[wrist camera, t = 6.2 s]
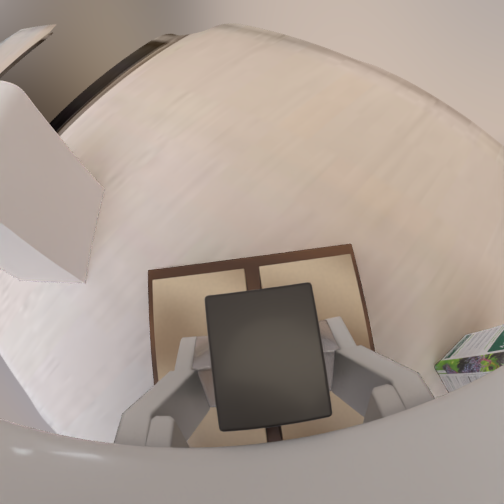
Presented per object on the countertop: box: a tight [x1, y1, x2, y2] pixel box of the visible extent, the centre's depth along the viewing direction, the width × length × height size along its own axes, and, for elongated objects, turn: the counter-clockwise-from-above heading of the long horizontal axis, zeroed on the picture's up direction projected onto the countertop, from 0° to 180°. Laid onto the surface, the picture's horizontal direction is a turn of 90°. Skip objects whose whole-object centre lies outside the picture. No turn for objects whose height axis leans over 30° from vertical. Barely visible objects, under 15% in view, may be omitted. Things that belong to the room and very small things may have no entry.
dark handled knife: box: [204, 282, 332, 432], centre depth 12 cm, size 4×2×15 cm, turn 7°
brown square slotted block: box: [148, 244, 375, 448], centre depth 21 cm, size 20×20×8 cm
